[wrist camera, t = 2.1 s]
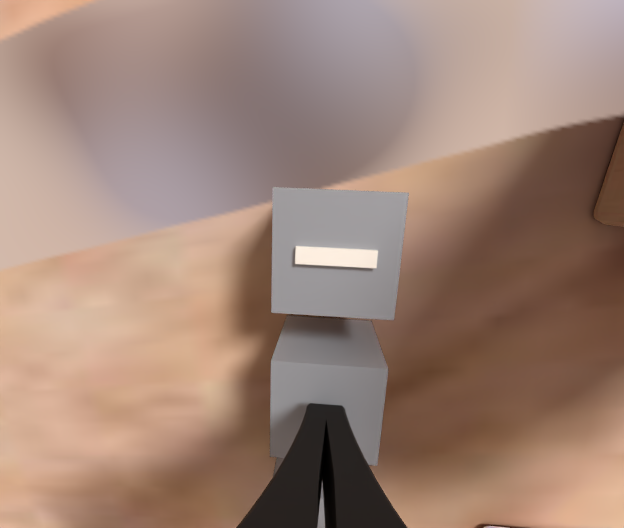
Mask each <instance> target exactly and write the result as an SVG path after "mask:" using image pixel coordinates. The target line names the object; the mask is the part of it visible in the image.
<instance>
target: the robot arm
mask: <svg viewBox="0 0 624 528" xmlns="http://www.w3.org/2000/svg"><path fill="white" fill-rule="evenodd" d="M322 481H323V498H324V516H325V528H407V527H406V525H405V524H404V522H403V521H402V519H401V518H400V517H399V515H398V514H397V512H396V511H395V509H394V508H393V506H392V504H391V503H390V501H389V500H388V498H387V497H386V495H385V493H384V492H383V490H382V488H381V487H380V485H379V483H378V482H377V480H376V478H375V476H374V474H373V473H372V471H371V469H370V467H369V465H368V463H367V461H366V459H365V458H364V455H363V453H362V451H361V449H360V447H359V445H358V443H357V441H356V438H355V436H354V434H353V431H352V429H351V426H350V424H349V421H348V418H347V415H346V412H345V408H344V407H343V406H342V405H329V404H315V403H310V404H308V405H307V408H306V412H305V415H304V418H303V421H302V423H301V426H300V428H299V430H298V433H297V435H296V437H295V439H294V441H293V443H292V445H291V447H290V449H289V451H288V453H287V454H286V456H285V458H284V460H283V461H282V463H281V465H280V467H279V468H278V470H277V472H276V473H275V475H274V477H273V478H272V480H271V481H270V483H269V484H268V486H267V487H266V489H265V490H264V492H263V493H262V495H261V496H260V497H259V499H258V500H257V501H256V503H255V504H254V506H253V507H252V508H251V510H250V511H249V512H248V514H247V515H246V516H245V517H244V519H243V520H242V521H241V523H240V524H239V525H238V526H237V527H236V528H317V526H318V516H319V507H320V497H321V488H322ZM483 528H508V527H498V526H485V527H483Z"/></svg>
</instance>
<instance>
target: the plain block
mask: <svg viewBox="0 0 624 528" xmlns="http://www.w3.org/2000/svg"><path fill="white" fill-rule="evenodd" d="M387 377H388V366H387V363H386V361H385V358H384V355H383V352H382V349H381V346H380V344H379V341H378V338H377V335H376V332H375V329H374V327H373V324H372V321H368V320H352V319H336V318H320V317H304V316H288V315H287V317H286V320H285V322H284V325H283V328H282V331H281V334H280V337H279V339H278V342H277V345H276V348H275V351H274V354H273V356H272V359H271V396H270V457H280V458H285V456H286V454H287V453H288V451H289V449H290V447H291V445H292V443H293V441H294V439H295V437H296V435H297V433H298V430H299V428H300V426H301V423H302V421H303V418H304V415H305V412H306V408H307V405H308V404H310V403H315V404H329V405H342V406H343V407H344V408H345V412H346V415H347V418H348V421H349V424H350V426H351V429H352V431H353V434H354V436H355V438H356V441H357V443H358V445H359V447H360V449H361V451H362V453H363V455H364V458H365V459H366V461H367V463H368V465H375V466H377V464H378V456H379V447H380V438H381V429H382V421H383V412H384V403H385V395H386V386H387Z"/></svg>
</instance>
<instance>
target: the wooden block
mask: <svg viewBox="0 0 624 528" xmlns="http://www.w3.org/2000/svg"><path fill="white" fill-rule="evenodd" d="M594 219H596V220H598V221H600V222H602V223H603V224H605V225H614V226H623V227H624V123H623V126H622V129H621V132H620V135H619V138H618V141H617V144H616V147H615V149H614V152H613V155H612V158H611V161H610V164H609V167H608V170H607V173H606V176H605V179H604V182H603V185H602V188H601V191H600V194H599V197H598V200H597V203H596V206H595V209H594Z"/></svg>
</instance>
